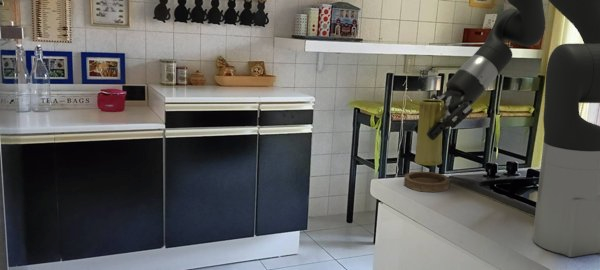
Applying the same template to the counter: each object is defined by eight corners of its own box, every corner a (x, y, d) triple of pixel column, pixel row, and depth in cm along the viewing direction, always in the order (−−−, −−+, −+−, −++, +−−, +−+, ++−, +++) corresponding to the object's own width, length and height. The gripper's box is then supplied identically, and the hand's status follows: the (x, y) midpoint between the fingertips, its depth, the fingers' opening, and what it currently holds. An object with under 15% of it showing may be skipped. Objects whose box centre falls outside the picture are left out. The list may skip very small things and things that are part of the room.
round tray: (457, 189, 112) (458, 182, 112) (418, 193, 109) (418, 186, 109) (433, 177, 121) (434, 170, 121) (396, 180, 118) (396, 173, 118)
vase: (445, 161, 115) (449, 100, 112) (437, 167, 110) (441, 103, 107) (419, 157, 118) (422, 98, 115) (410, 163, 113) (413, 101, 110)
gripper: (444, 65, 118) (397, 118, 118) (483, 71, 105) (429, 130, 104) (462, 87, 121) (415, 138, 120) (501, 95, 108) (450, 152, 107)
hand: (422, 134), depth 112 cm, fingers closed on vase, 5 cm apart
